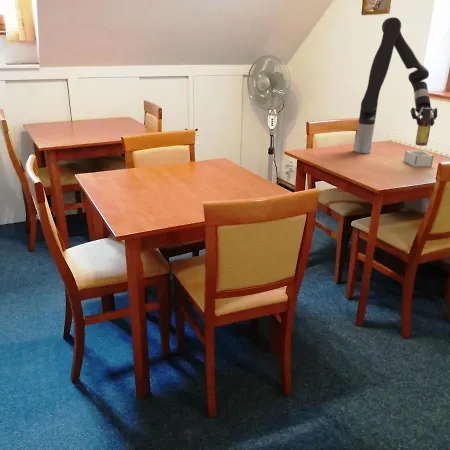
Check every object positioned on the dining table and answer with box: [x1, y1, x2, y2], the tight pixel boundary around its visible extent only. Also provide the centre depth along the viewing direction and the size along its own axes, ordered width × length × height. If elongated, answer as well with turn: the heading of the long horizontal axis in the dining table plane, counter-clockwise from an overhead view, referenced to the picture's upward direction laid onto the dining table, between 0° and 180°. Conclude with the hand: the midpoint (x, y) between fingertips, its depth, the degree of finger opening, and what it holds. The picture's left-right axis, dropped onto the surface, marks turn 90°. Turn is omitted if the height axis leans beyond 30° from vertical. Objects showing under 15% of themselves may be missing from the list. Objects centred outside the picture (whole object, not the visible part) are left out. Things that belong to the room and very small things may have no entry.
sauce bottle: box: [415, 107, 432, 147], centre depth 249 cm, size 7×6×20 cm
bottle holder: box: [403, 150, 435, 167], centre depth 256 cm, size 10×11×6 cm
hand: (426, 124), depth 247 cm, fingers closed on sauce bottle, 6 cm apart
